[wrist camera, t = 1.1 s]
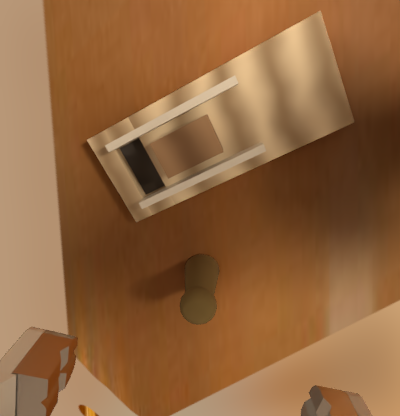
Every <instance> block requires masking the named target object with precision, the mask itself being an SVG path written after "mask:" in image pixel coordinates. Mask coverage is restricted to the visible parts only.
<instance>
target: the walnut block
mask: <svg viewBox="0 0 400 416" xmlns="http://www.w3.org/2000/svg"><path fill="white" fill-rule="evenodd" d="M150 146H151V148H152V149H153V151H154V153H155V155H156V157H157V159H158V161H159V162H160V164H161V166H162V168H163V170H164V172H165V174H166V176H167V177H168V179H169V178H171V177H173V176H175V175H177V174H179V173H181V172H183V171H185V170H187V169H189V168H192V167H194V166H196V165H198V164H200V163H202V162H204V161H206V160H208V159H210V158H212V157H214V156H216V155H218V154H221V153H223V147H222V145H221V143H220V141H219V138H218V136H217V134H216V132H215V130H214V128H213V125H212V123H211V121H210V119H209V117H208V114H206V115H204V116H202V117H200V118H198V119H197V120H195V121H193V122H191V123H189V124H187V125H185V126H183V127H181V128H179V129H177V130H175V131H174V132H172V133H170V134H168V135H166V136H164V137H162V138H160V139H158V140H156V141H154V142H152V143H150Z"/></svg>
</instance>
